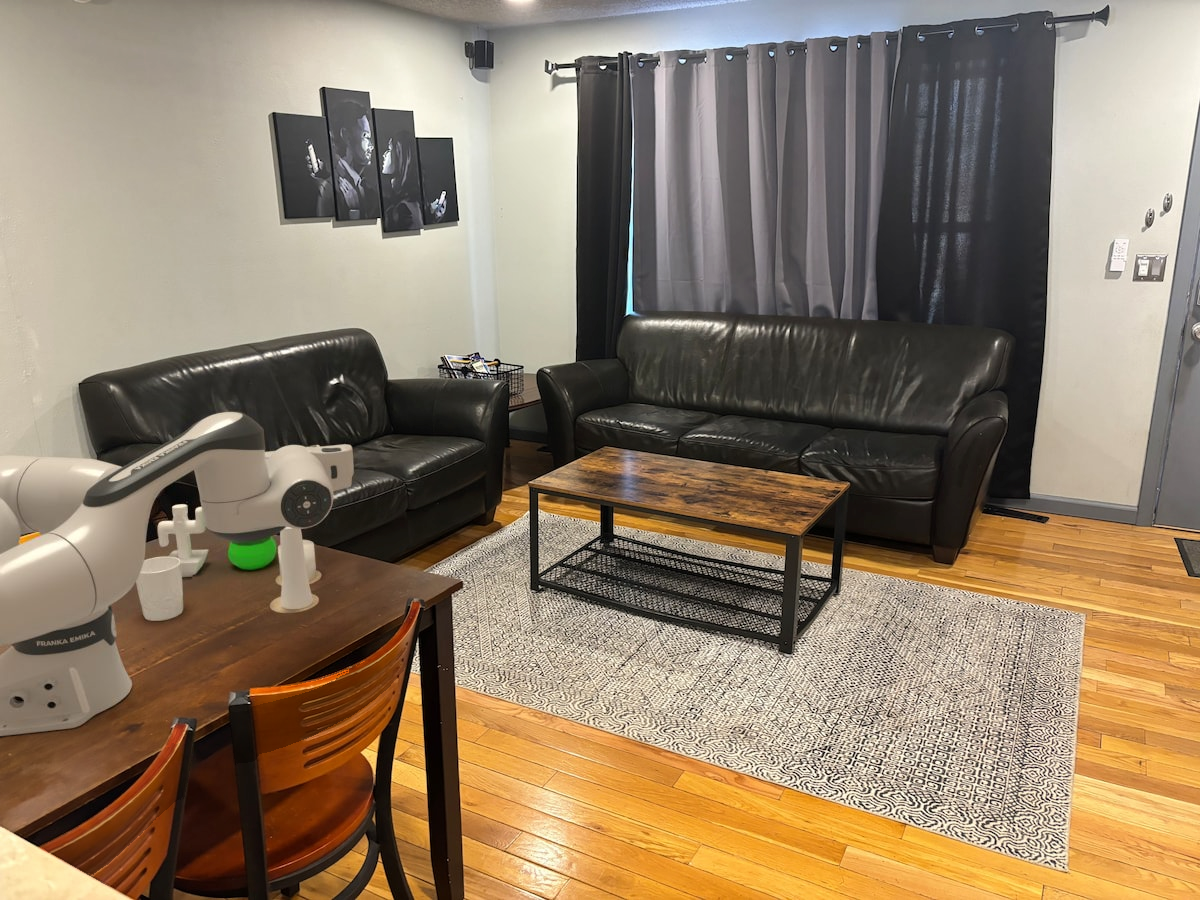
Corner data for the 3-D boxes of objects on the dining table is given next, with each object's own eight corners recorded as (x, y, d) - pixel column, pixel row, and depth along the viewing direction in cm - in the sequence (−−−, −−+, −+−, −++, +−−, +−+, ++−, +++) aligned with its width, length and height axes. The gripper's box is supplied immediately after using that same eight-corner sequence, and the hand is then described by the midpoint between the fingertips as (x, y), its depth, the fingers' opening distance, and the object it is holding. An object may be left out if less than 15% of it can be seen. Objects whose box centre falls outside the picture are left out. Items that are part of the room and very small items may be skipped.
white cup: (168, 624, 158) (161, 574, 156) (130, 620, 160) (123, 570, 157) (195, 606, 166) (189, 558, 163) (159, 602, 167) (153, 554, 165)
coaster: (277, 592, 172) (277, 589, 172) (274, 575, 180) (273, 572, 180) (324, 584, 176) (324, 582, 176) (318, 568, 184) (318, 566, 184)
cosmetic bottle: (288, 595, 170) (279, 489, 164) (318, 597, 169) (309, 491, 163) (274, 609, 164) (264, 499, 158) (305, 611, 163) (296, 501, 157)
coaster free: (272, 619, 161) (271, 616, 161) (268, 599, 169) (268, 597, 169) (322, 610, 165) (321, 607, 165) (316, 592, 173) (315, 589, 172)
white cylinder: (282, 586, 174) (279, 554, 172) (279, 573, 180) (276, 542, 178) (318, 581, 176) (315, 549, 174) (314, 568, 182) (311, 537, 181)
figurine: (170, 566, 184) (161, 500, 180) (216, 565, 185) (208, 499, 181) (157, 580, 177) (148, 511, 173) (205, 578, 178) (197, 510, 174)
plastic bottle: (289, 560, 188) (279, 450, 181) (257, 579, 178) (245, 463, 172) (251, 554, 191) (240, 446, 184) (217, 572, 181) (204, 458, 174)
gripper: (225, 501, 132) (222, 476, 144) (361, 485, 140) (347, 463, 152) (220, 462, 130) (218, 440, 142) (358, 448, 138) (345, 429, 150)
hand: (286, 452), depth 147 cm, fingers open, 8 cm apart
